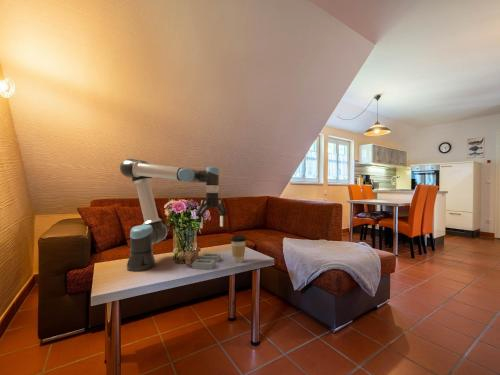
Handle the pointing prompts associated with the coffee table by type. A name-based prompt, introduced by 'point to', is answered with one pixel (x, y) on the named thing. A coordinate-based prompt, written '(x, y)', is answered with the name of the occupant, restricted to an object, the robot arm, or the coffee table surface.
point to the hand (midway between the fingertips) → (211, 227)
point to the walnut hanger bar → (191, 256)
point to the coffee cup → (238, 248)
